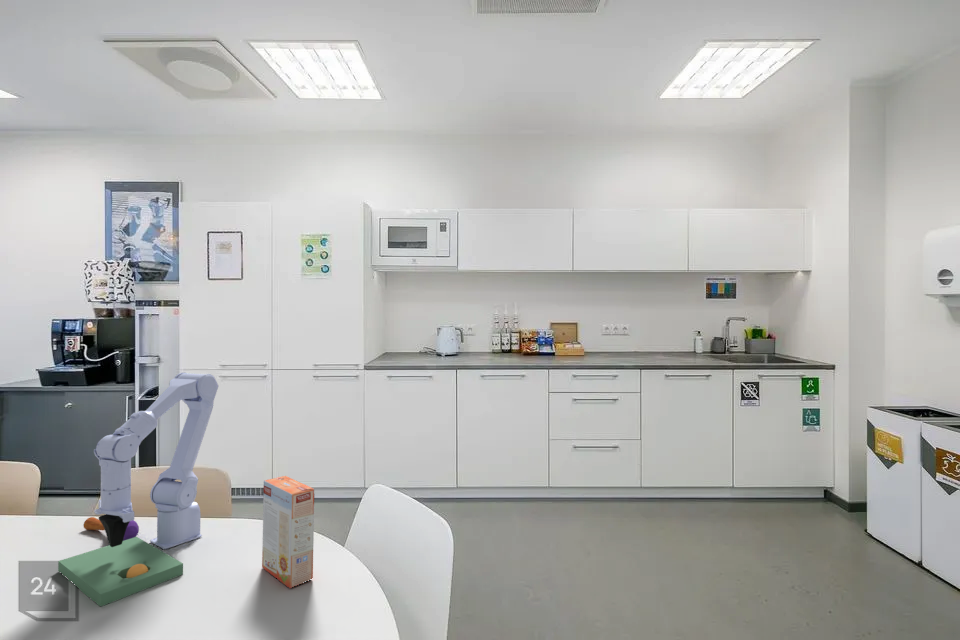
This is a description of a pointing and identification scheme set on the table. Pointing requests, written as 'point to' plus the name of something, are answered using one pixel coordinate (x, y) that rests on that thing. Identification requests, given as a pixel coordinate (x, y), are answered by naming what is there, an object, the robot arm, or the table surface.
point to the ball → (136, 570)
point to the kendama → (97, 525)
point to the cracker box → (288, 530)
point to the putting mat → (119, 570)
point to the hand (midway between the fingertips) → (115, 544)
